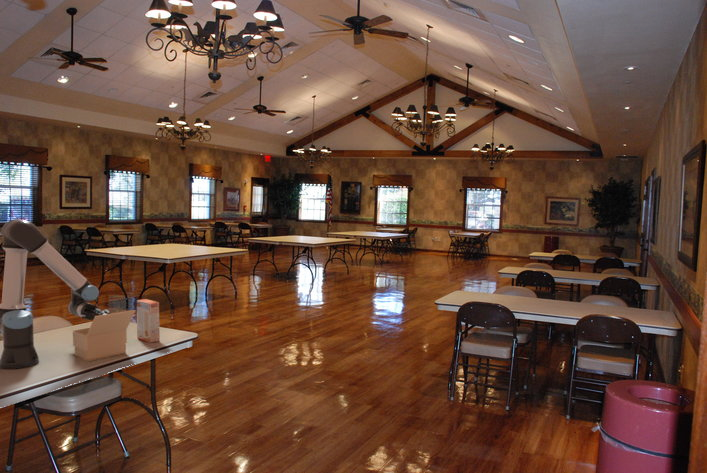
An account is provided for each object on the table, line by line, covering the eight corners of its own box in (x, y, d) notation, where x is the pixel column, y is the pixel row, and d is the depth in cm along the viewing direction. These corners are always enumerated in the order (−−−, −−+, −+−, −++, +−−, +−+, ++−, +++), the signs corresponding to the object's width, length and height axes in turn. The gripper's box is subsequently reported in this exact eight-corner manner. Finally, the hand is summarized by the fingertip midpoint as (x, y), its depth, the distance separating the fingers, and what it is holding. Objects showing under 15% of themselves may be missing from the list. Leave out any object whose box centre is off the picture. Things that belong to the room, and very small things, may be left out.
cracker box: (160, 341, 287) (159, 301, 286) (149, 343, 283) (148, 303, 281) (147, 336, 297) (146, 298, 295) (136, 338, 292) (136, 299, 291)
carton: (127, 353, 265) (126, 328, 264) (86, 362, 251) (85, 336, 250) (112, 347, 275) (112, 323, 274) (73, 355, 260) (72, 330, 259)
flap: (125, 328, 264) (126, 329, 264) (86, 335, 250) (86, 336, 250) (135, 309, 257) (135, 310, 257) (95, 316, 243) (95, 317, 243)
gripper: (101, 316, 275) (124, 324, 259) (74, 321, 265) (96, 329, 250) (101, 301, 274) (123, 308, 259) (74, 305, 265) (95, 312, 249)
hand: (110, 318), depth 254 cm, fingers closed
